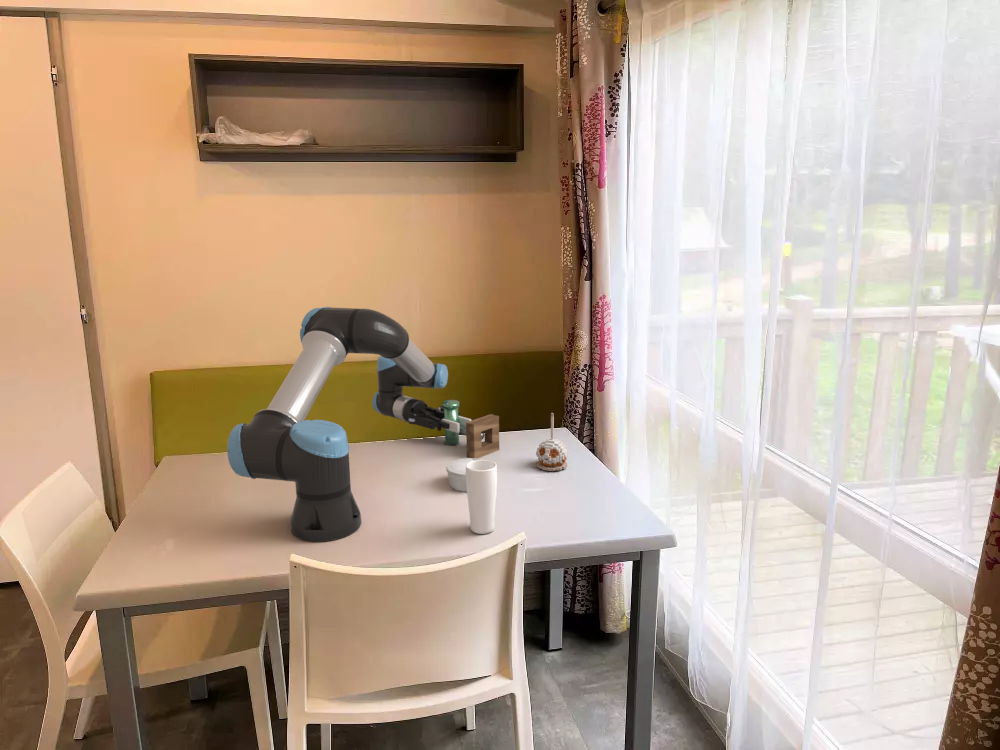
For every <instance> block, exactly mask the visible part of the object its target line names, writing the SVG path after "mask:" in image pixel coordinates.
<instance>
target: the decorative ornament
mask: <svg viewBox="0 0 1000 750" xmlns="http://www.w3.org/2000/svg"><path fill="white" fill-rule="evenodd" d="M554 415H555V414H554V413H553V412H551V413H550V437H548V439H544V440H543V441H542V442H541V443H539V445H538V447H537V449H536V451H535V453H536V454H535V456H536V457H537V460H538V461H537V463H536V467H538V468H539V469H541V470H542V471H548V472H551V471H553V472H555V471H561V470H565V469H566V468H567V467H568V462H567V461H566V460H567V459H568V448H567V446H566V443H564V442H563V441H561V440H560V439H558V438H554V436H555V433H554V432H555V430H554V427H555V426H554V423H555V422H554V421H555V420H554V419H555V417H554Z"/></svg>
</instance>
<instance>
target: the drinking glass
mask: <svg viewBox="0 0 1000 750" xmlns="http://www.w3.org/2000/svg"><path fill="white" fill-rule="evenodd" d="M466 488H467V492H466V494H467V504H468V514H469V522H470V523H469V525H470V526H469V528H470V530H471V531H472V532H473V533H474V534H478V535H486V534H490V533H491V532H493V531H494V530H495V528H496V508H497V493H498V466H497V463H496V462H495V461H493V460H489V459H481V460H475V461H471V462H469V463H467V464H466Z"/></svg>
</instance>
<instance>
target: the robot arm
mask: <svg viewBox="0 0 1000 750" xmlns="http://www.w3.org/2000/svg"><path fill="white" fill-rule="evenodd" d="M300 325H301V328H300V329H299V339H300V342H301V346H302V351H301V353H300V354H299V356H298V357H297V358H296V361H295V362H294V363H293V365H292V367H291V369H290V370H289V372H288V374H287V375H286V377H285V378H284V380H283V382H282V384H281V385H280V387H279V388H278V390H277V392H276V393H275V395H274V396H273V398H272V400H271V402H270V403H269V405H268V406H267V408H263V409H260V410H258V411H257V412H256V413H255V414H254V416H253V418H252V419H251V421H250V422H249V423H245V422H243V423H242V422H241V423H238V424H236V425H235V426H234V427H233V428H232V430H231V431H230V433H229V434H228V439H227V445H226V446H227V449H226V450H227V461H228V463H229V465H230V468H231V470H232V471H233V472H234V473H235V474H236V475H238V476H239V477H245V478H251V479H252V480H255V479H263V480H273V481H274V480H275V481H284V482H293V483H295V494H296V496H295V501H294V506H293V510H292V514H291V517H290V531H291V534H292V535H293V536H294V537H296V538H297V539H298V540H302V541H305V542H316V543H317V542H331V541H335V540H338V539H342V538H346V537H348V536H350V535H352V534H353V533H355V532H356V531H358V529H360V527H361V525H362V514H361V511H360V509H359V506H358V504H357V501H356V499H355V497H354V495H353V493H352V489H351V488H352V487H351V486H352V485H351V472H350V471H351V470H350V457H349V456H350V455H349V452H350V451H349V450H350V447H349V442H348V436H347V431H346V430H345V429H344V428H343V427H342V426H341V425H340V424H338V423H335V422H333V421H330V420H324V419H313V420H310V419H306V418H307V416H308V414H309V412H310V410H311V409H312V407H313V405H314V403H315V401H316V399H317V398H318V396H319V394H320V392H321V390H322V388H323V387H324V385H325V383H326V381H327V379H328V378H329V376H330V374H331V372H332V370H333V369H334V367H335V366H339V365H340V364H342V363H344V361H345V359H346V358H347V355H348V354H365V355H366V354H367V355H368V354H370V355H378V357H377V360H376V362H377V363H376V365H377V367H376V368H377V369H376V372H377V387H378V389H377V390H378V391H376V392H375V393H374V394H373V396H372V397H373V398H372V400H371V405H372V408H373V409H374V411H376V412H377V413H379V414H381V415H383V416H386V417H391V418H395V419H397V420H400V421H404V423H408V424H410V425H416V426H420V427H423V428H426V429H429V430H435V429H437V431H439V432H441V431H442V429H444V430H445V429H447V430H450V431H453V432H456V433H459V432H460V426H459V425H461V426H464V427H466V422H469V421H472V419H471V418H468V417H464V416H461V412H460V411H458V423H457V422H454V421H450V420H447V419H444V408H443V405H439V406H438V408H434V407H432V406H429V405H427V403H426V402H425V401H424V400H421V399H418V398H414V397H411V396H407V395H404V394H403V391H404V389H403V388H404V387H408V388H409V387H410V388H422V389H423V388H426V389H433V390H435V389H443V388H446V386H447V383H448V379H449V371H448V367H447V365H446V364H444V363H443V364H442V363H434V362H433V361H432V360H430V358H428V356H427V355H426V354H425V353H424V352H422V350H420V348H419V347H418V346H417V345H416V344H415V343H414V342H413V341H412V340H411V339H410V335H409V333H408V331H407V330H406V329H405V328H404V326H402V325H401V324H400V323H399V322H397V321H396V320H394V319H393V318H392V317H390V316H388V315H386V314H385V313H382V312H380V311H377V310H375V309H370V308H352V307H351V308H350V307H349V308H348V307H331V306H325V307H324V306H323V307H315V308H313V309H310V310H309V311H308V312H307V313H306V314H305V315H304V316H303V318H302V321H301V324H300Z"/></svg>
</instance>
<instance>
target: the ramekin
mask: <svg viewBox="0 0 1000 750" xmlns="http://www.w3.org/2000/svg"><path fill="white" fill-rule="evenodd" d="M475 460H482V459H480V458H477V459H475V458H469V457H466V458H459V459H455V460H452V461H450V462H448V464H446V466H445V468H446V473H447V478H448V482H449V484H450V486H451V487H452V489H454V490H455V491H457V492H461V493H462V492H463V493H467V488H466V464H467V463H469V462H471V461H475Z"/></svg>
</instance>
